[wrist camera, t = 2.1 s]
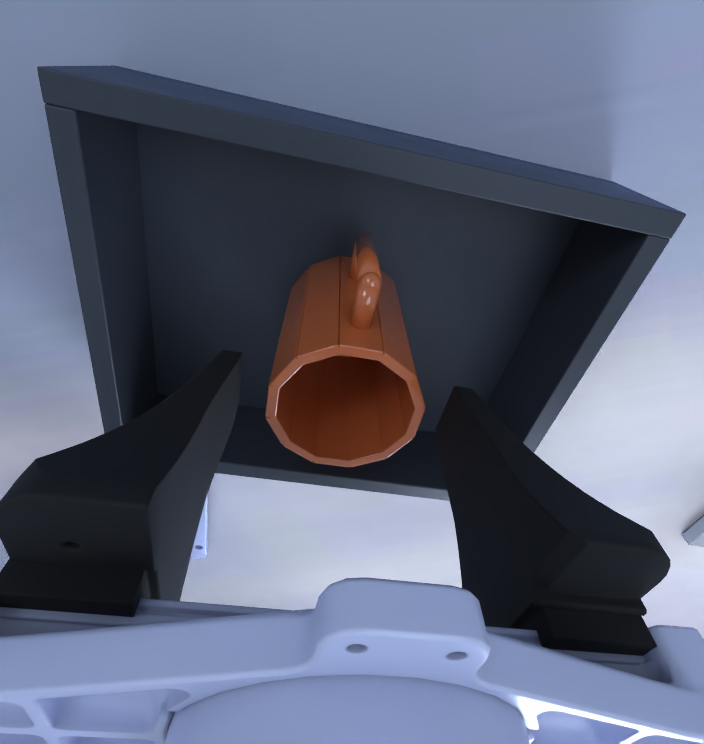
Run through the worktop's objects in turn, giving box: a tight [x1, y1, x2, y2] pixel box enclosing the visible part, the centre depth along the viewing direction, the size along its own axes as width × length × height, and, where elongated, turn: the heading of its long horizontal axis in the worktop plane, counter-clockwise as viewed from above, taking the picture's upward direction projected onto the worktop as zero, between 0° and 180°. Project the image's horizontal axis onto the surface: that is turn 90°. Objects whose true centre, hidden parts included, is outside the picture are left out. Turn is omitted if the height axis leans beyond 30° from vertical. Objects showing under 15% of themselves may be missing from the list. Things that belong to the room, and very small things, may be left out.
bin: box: [37, 66, 686, 501], centre depth 18 cm, size 15×19×4 cm
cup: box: [265, 231, 426, 467], centre depth 16 cm, size 7×5×7 cm
